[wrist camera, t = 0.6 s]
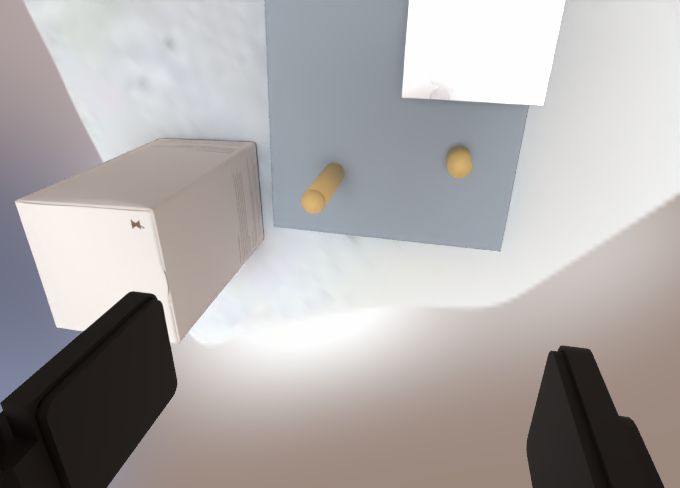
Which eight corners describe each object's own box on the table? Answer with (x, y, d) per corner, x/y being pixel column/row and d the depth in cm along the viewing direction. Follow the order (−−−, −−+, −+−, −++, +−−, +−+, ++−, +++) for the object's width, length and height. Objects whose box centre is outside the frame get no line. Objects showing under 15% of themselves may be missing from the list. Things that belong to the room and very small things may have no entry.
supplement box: (155, 135, 39) (6, 195, 26) (257, 140, 38) (153, 206, 24) (172, 234, 43) (50, 330, 30) (265, 242, 41) (180, 348, 28)
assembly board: (270, -57, 31) (213, -80, 24) (555, -57, 28) (594, -84, 21) (280, 219, 40) (240, 266, 33) (498, 242, 37) (511, 300, 30)
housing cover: (417, -32, 29) (412, -40, 25) (555, -31, 28) (573, -39, 24) (407, 87, 32) (401, 97, 28) (530, 94, 31) (543, 105, 27)
